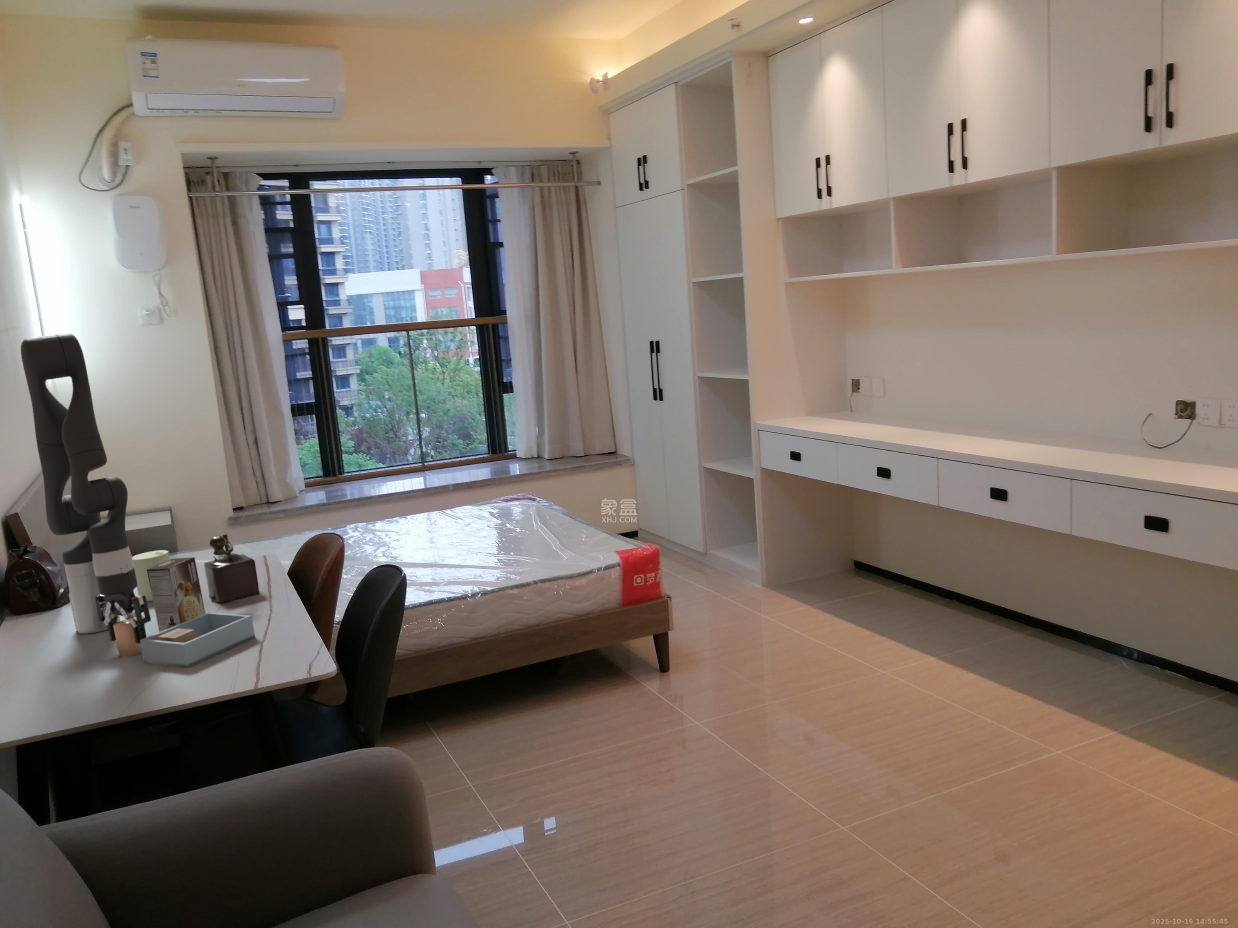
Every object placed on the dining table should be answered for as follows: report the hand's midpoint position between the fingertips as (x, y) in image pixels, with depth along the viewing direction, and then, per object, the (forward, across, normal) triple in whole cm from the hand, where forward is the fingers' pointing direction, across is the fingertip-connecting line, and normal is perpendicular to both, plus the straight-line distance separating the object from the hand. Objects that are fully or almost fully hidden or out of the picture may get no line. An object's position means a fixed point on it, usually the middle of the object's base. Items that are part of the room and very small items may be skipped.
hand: (128, 640), depth 204 cm
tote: (+3, +16, +6) cm, 17 cm away
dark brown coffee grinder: (+3, -10, +37) cm, 38 cm away
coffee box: (+3, -2, +15) cm, 16 cm away
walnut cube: (+3, +16, 0) cm, 16 cm away
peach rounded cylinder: (+3, 0, 0) cm, 3 cm away
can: (+2, -36, +34) cm, 50 cm away
